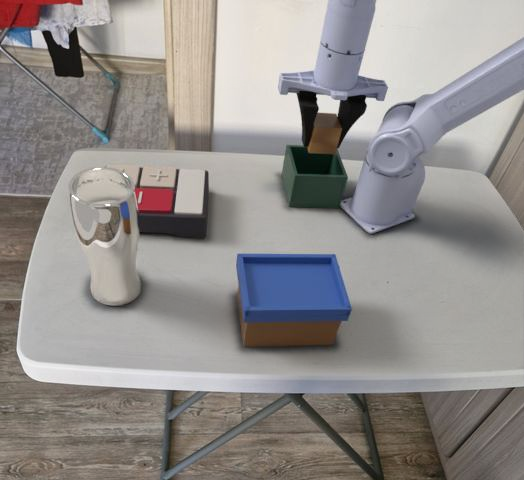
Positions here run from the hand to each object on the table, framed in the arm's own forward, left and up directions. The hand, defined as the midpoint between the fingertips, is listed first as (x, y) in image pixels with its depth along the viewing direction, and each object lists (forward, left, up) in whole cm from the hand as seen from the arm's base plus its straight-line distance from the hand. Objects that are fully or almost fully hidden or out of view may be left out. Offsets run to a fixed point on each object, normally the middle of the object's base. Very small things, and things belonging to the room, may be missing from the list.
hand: (320, 143), depth 77 cm
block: (0, 0, 0) cm, 0 cm away
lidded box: (+19, +21, -8) cm, 29 cm away
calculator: (+24, -5, -8) cm, 26 cm away
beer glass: (+35, +7, -8) cm, 37 cm away
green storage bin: (0, 0, -8) cm, 8 cm away
